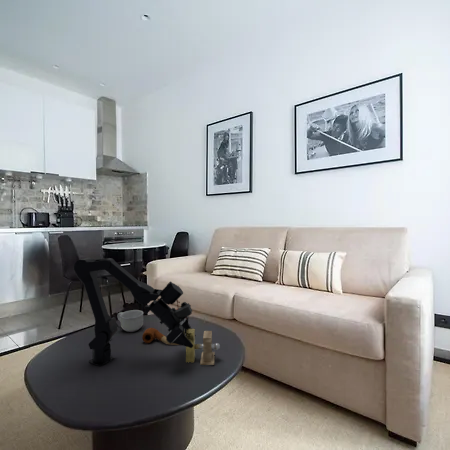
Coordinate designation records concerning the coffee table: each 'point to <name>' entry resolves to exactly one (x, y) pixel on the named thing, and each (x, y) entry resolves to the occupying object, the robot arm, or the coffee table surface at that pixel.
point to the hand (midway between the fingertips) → (193, 341)
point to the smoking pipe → (154, 336)
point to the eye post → (207, 349)
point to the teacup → (131, 320)
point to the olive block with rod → (195, 346)
